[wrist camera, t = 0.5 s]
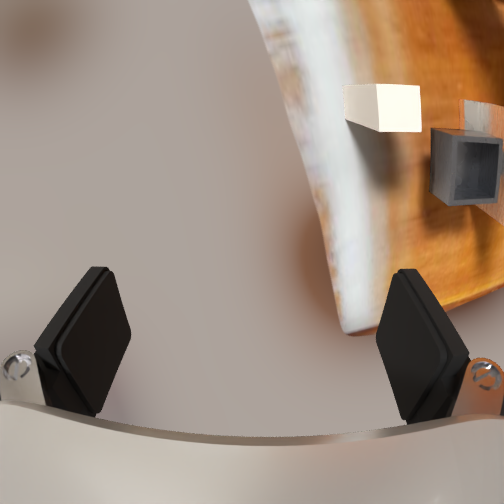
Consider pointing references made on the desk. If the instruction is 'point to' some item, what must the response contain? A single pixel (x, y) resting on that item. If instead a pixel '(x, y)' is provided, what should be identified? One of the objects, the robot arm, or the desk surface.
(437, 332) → the robot arm
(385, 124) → the cream rectangular beam
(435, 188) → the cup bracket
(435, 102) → the desk surface
